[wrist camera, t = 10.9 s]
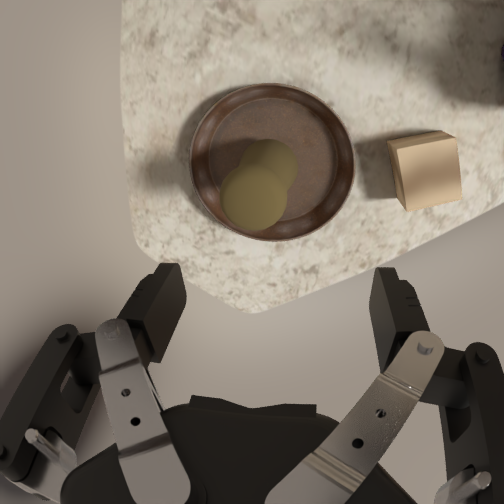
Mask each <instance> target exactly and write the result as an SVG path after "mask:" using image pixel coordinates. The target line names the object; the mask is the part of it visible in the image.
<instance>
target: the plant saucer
mask: <svg viewBox="0 0 504 504" xmlns="http://www.w3.org/2000/svg"><path fill="white" fill-rule="evenodd" d="M263 139H275V140H278V141H280V142H282V143H284V144H286V145H287V146H288V147H289V148H290V149H291V150H292V151H293V153H294V154H295V156H296V158H297V163H298V174H297V177H296V179H295V181H294V183H293V184H292V186H291V187H290V188H289V190H288V191H287V194H288V196H287V205H286V209H285V211H284V213H283V215H282V217H281V218H280V219H279V220H278V221H277V222H276V223H275V224H274V225H272V226H270V227H268V228H266V229H263V230H258V231H251V230H244V229H242V228H240V227H237V226H235V225H234V224H233V223H232V222H230V221H229V220H228V219H227V217H226V216H225V215H224V213H223V212H222V209H221V206H220V203H219V194H220V188H221V185H222V182H223V180H224V179H225V178H226V177H227V175H228V174H229V173H230V172H231V171H232V170H234V169H235V168H237V167H238V166H239V163H240V161H241V158H242V155H243V153H244V151H245V150H246V149H247V148H248V146H249V145H251V144H253V143H254V142H256V141H258V140H263ZM355 167H356V161H355V152H354V147H353V143H352V140H351V137H350V135H349V132H348V130H347V128H346V127H345V125H344V123H343V122H342V120H341V119H340V117H339V116H338V115H337V114H336V112H335V111H334V110H333V109H332V108H331V107H330V106H329V105H328V104H326V103H325V102H324V101H322V100H321V99H320V98H318V97H317V96H315V95H313V94H312V93H310V92H308V91H305V90H303V89H301V88H298V87H295V86H291V85H286V84H279V83H262V84H255V85H250V86H246V87H243V88H240V89H238V90H235V91H233V92H231V93H229V94H228V95H226V96H224V97H223V98H221V99H220V100H219V101H218V102H216V103H215V104H214V105H213V106H212V107H211V108H210V109H209V110H208V111H207V112H206V114H205V115H204V116H203V118H202V119H201V121H200V122H199V124H198V126H197V128H196V130H195V133H194V135H193V138H192V142H191V146H190V152H189V168H190V175H191V179H192V183H193V186H194V189H195V191H196V193H197V195H198V197H199V199H200V201H201V202H202V204H203V205H204V207H205V208H206V209H207V211H208V212H209V213H210V214H211V215H212V216H213V217H214V218H215V219H216V220H217V221H218V222H220V223H221V224H223V225H224V226H225V227H227V228H228V229H230V230H232V231H234V232H236V233H238V234H240V235H242V236H245V237H248V238H252V239H256V240H261V241H272V242H277V241H288V240H293V239H298V238H301V237H304V236H307V235H309V234H311V233H313V232H315V231H317V230H319V229H320V228H322V227H323V226H325V225H326V224H327V223H328V222H330V221H331V220H332V219H333V218H334V217H335V216H336V215H337V214H338V212H339V211H340V210H341V208H342V207H343V205H344V204H345V202H346V200H347V198H348V196H349V194H350V192H351V189H352V186H353V182H354V178H355Z"/></svg>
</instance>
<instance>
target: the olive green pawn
mask: <svg viewBox="0 0 504 504" xmlns="http://www.w3.org/2000/svg"><path fill="white" fill-rule="evenodd" d="M297 174H298V163H297V158H296V156H295V154H294V153H293V151H292V150H291V149H290V148H289V147H288V146H287V145H286V144H284V143H282V142H280V141H278V140H275V139H263V140H258V141H256V142H254V143H253V144H251V145H249V146H248V148H247V149H246V150H245V151H244V153H243V155H242V158H241V161H240V163H239V166H238V167H237V168H235V169H234V170H232V171H231V172H230V173H229V174H228V175H227V177H226V178H225V179H224V180H223V182H222V185H221V188H220V194H219V203H220V206H221V209H222V212H223V213H224V215H225V216H226V217H227V219H228V220H229V221H230V222H232V223H233V224H234V225H235V226H237V227H240V228H242V229H244V230H251V231H258V230H263V229H266V228H268V227H270V226H272V225H274V224H275V223H276V222H277V221H278V220H279V219H280V218H281V217H282V215H283V213H284V211H285V209H286V205H287V196H288V194H287V191H288V190H289V188H290V187H291V186H292V184H293V183H294V181H295V179H296V177H297Z"/></svg>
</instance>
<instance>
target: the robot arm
mask: <svg viewBox="0 0 504 504" xmlns="http://www.w3.org/2000/svg"><path fill="white" fill-rule="evenodd" d="M186 297H187V296H186V290H185V285H184V282H183V277H182V273H181V268H180V265H179V264H178V263H160V264H159V266H158V267H157V269H156V270H155V272H154V274H149V275H147V276H146V277H145V278H144V279H142V280H141V281H140V283H139V284H138V286H137V287H136V289H135V291H134V292H133V294H132V295H131V297H130V298H129V299H128V301H127V303H126V304H125V306H124V307H123V309H122V310H121V312H120V314H119V315H118V317H117V318H116V319H110V320H107V321H105V322H104V323H102V324H101V325H100V326H99V327H98V328H97V330H96V332H92V333H84V334H80V333H79V332H78V330H77V328H76V327H75V326H74V325H71V324H65V325H62V326H59V327H57V328H56V329H55V330H54V331H53V332H52V333H51V334H50V335H49V337H48V339H47V340H46V342H45V343H44V345H43V346H42V348H41V350H40V351H39V353H38V354H37V356H36V358H35V359H34V361H33V363H32V364H31V366H30V367H29V369H28V371H27V373H26V374H25V376H24V378H23V379H22V381H21V383H20V385H19V386H18V388H17V390H16V392H15V393H14V395H13V397H12V399H11V401H10V403H9V405H8V406H7V408H6V410H5V412H4V414H3V416H2V418H1V420H0V474H2V475H3V476H5V477H6V478H7V479H8V480H9V481H11V482H12V483H14V484H15V485H17V486H18V487H20V488H22V489H23V490H25V491H27V492H29V493H32V494H33V495H35V496H37V497H38V498H40V499H42V500H53V501H55V502H57V503H59V504H417V503H416V502H415V501H414V500H413V499H412V498H411V497H410V495H409V494H408V493H407V492H406V491H405V490H404V489H403V488H402V487H401V486H400V485H399V484H398V483H397V482H396V481H395V480H394V479H393V478H392V477H391V476H390V475H389V474H388V472H386V470H385V469H383V467H382V466H381V465H380V464H379V463H378V461H379V460H380V458H381V457H382V456H383V454H384V453H385V452H386V450H387V449H388V447H389V446H390V444H391V443H392V441H393V440H394V439H395V437H396V436H397V434H398V432H399V431H400V430H401V428H402V427H403V425H404V423H405V422H406V420H407V419H408V417H409V415H410V414H411V412H412V410H413V409H414V407H415V406H416V404H417V402H418V401H420V402H424V403H429V404H435V405H438V406H439V412H440V418H441V425H442V433H443V441H444V450H445V460H446V471H447V482H446V483H445V484H444V485H442V486H441V487H440V488H439V490H438V491H437V493H436V496H435V500H434V504H504V373H503V370H502V367H501V364H500V361H499V359H498V356H497V354H496V352H495V351H494V349H493V348H491V347H490V346H489V345H487V344H485V343H480V342H476V343H472V344H470V345H469V346H468V347H467V349H466V350H465V351H460V350H455V349H451V348H447V347H445V346H444V344H443V342H442V340H441V339H440V338H439V337H438V336H437V335H435V334H434V333H431V332H430V329H429V326H428V323H427V321H426V318H425V315H424V312H423V310H422V307H421V306H420V305H421V304H420V302H419V300H418V298H417V294H416V292H415V289H414V287H412V285H411V284H410V283H409V282H408V281H407V280H399V278H398V275H397V272H396V270H395V268H389V267H387V268H386V267H383V268H382V267H381V268H380V267H377V268H376V269H375V273H374V278H373V284H372V290H371V295H370V301H369V310H370V316H371V321H372V326H373V331H374V337H375V343H376V348H377V354H378V360H379V366H380V374H379V375H378V376H377V378H376V379H375V380H374V382H373V383H372V384H371V386H370V387H369V388H368V390H367V391H366V392H365V393H364V395H363V396H362V397H361V399H360V400H359V401H358V402H357V403H356V405H355V406H354V407H353V409H351V411H350V412H349V413H348V414H347V415H346V417H345V418H344V419H343V420H342V421H341V423H339V422H338V421H336V420H334V419H332V418H330V417H328V416H325V415H321V414H318V413H316V404H280V405H274V406H267V407H260V408H247V407H244V406H241V405H238V404H235V403H232V402H229V401H226V400H223V399H220V398H211V397H202V396H195V395H192V396H191V399H190V402H189V403H188V404H181V405H177V406H174V407H171V408H168V409H166V410H165V408H164V406H163V403H162V401H161V399H160V396H159V394H158V392H157V389H156V387H155V384H154V382H153V379H152V377H151V374H150V372H149V370H148V366H149V363H150V362H155V363H161V360H162V358H163V356H164V353H165V351H166V349H167V346H168V344H169V342H170V340H171V337H172V335H173V333H174V330H175V328H176V326H177V323H178V321H179V319H180V317H181V314H182V312H183V310H184V308H185V305H186ZM67 372H68V373H69V375H70V377H69V379H68V381H67V383H66V385H65V387H64V389H63V391H62V393H61V392H60V387H61V384H62V382H63V380H64V378H65V376H66V374H67ZM100 387H101V389H102V393H103V397H104V401H105V405H106V408H107V412H108V416H109V420H110V423H111V427H112V430H113V434H114V437H115V440H116V443H114V444H113V445H111V446H110V447H108V448H107V449H105V450H103V451H102V452H100V453H99V454H97V455H96V456H94V457H92V458H91V459H89V460H87V461H86V462H84V463H83V464H81V465H79V466H77V465H76V462H77V459H76V454H75V452H74V450H75V447H76V444H77V442H78V439H79V437H80V434H81V432H82V429H83V427H84V424H85V422H86V420H87V417H88V415H89V412H90V410H91V408H92V405H93V403H94V400H95V398H96V396H97V394H98V392H99V389H100Z"/></svg>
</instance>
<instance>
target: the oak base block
mask: <svg viewBox="0 0 504 504" xmlns="http://www.w3.org/2000/svg"><path fill="white" fill-rule="evenodd" d="M387 146H388V150H389V155H390V160H391V165H392V170H393V176H394V181H395V187H396V193H397V198H398V200H399V201H400V203H401V204H402V206H403V207H404V208H405V210H406V211H407V212H410V211H414V210H418V209H423V208H427V207H431V206H436V205H440V204H444V203H448V202H453V201H457V200H461V199H462V188H461V176H460V165H459V156H458V148H457V141H456V138H455V137H453V136H451V135H449V134H447V133H445V132H443V131H436V132H430V133H425V134H419V135H414V136H409V137H404V138H399V139H394V140H390V141H387Z"/></svg>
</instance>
